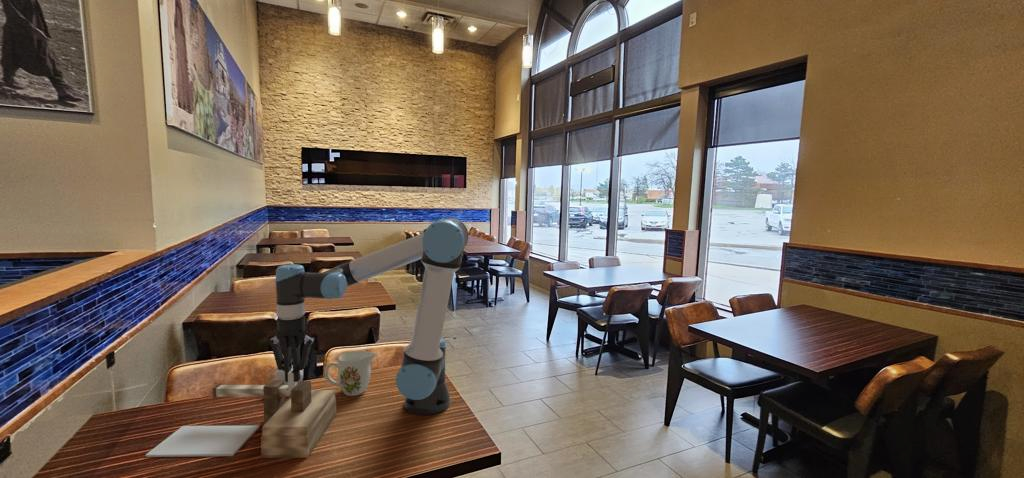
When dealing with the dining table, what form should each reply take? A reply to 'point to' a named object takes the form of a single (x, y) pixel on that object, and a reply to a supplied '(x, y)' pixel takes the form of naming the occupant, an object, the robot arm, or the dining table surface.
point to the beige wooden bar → (245, 391)
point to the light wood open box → (290, 444)
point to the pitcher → (352, 372)
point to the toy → (281, 375)
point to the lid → (299, 411)
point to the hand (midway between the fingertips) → (292, 391)
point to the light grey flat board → (204, 441)
